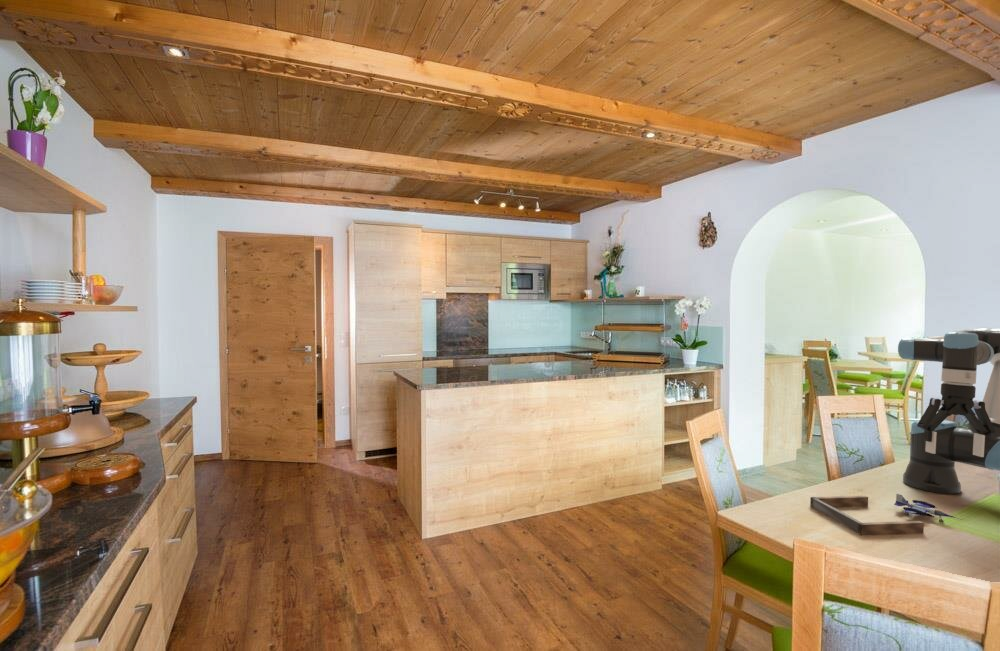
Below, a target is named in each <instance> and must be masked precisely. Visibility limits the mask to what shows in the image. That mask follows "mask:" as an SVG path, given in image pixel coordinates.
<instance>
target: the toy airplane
mask: <svg viewBox="0 0 1000 651" xmlns="http://www.w3.org/2000/svg"><path fill="white" fill-rule="evenodd" d="M895 498H896V499H895V502H894V504H893V505H894V506H896V507H897V506H898V507H902V509H903V510H904V511H903V512H904V515H907V516H909V514H910V515H912V514H913V515H918V516H923V517H926V516H927V517H931V518H934V517H935V516H938V518H939V519H938V522H939V523H941V522H942V523H944V521H945V520H944V519H943V518H942V517H947V518H955V519H959V520H960V518H958V517H956V516H952V515H950V514H948V513H946V512H945V511H944V510H942V509H936V508H938V507H937V506H936V505H935V504H934V503H933V504H932V503H929V502H927V501H924V500H917V499H913V500H912V504H911V503H910V502H909V500H906V498H905V497H904V496H903V495H902V494H900V493H896V496H895ZM913 503H914V504H913ZM906 506H907V507H906ZM962 520H963V521H964V519H962V518H961V521H962Z"/></svg>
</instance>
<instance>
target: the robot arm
mask: <svg viewBox="0 0 1000 651" xmlns="http://www.w3.org/2000/svg"><path fill="white" fill-rule="evenodd" d="M897 353H898V355H899V357H900V359H903V360H910V361H920V362H921V361H924V362H938V363H942V364H941V365H942V367H941V377H940V378H941V380H940V381H941V382H942V383H941V384H940V394H941V399H940V398H935V397H930V399H929V403H928V406H927V408H926V409H925V411H924V413H923V414H922V416H921V417H920V419H919V420H915V421H913V422H912V423H911V427H910V433H909V434H910V439H909V440H910V441H909V442H910V444H909V445H910V446H909V462H908V465H907V466H906V468H905V471H904V473H903V474H902V482H903V483H904V484H905V485H908V486H910V487H912V488H915V489H919V490H921V491H922V490H923V491H926V492H932V493H936V494H937V493H938V494H947V495H949V494H950V495H951V494H952V495H955V494H961V492H962V484H961V482H960V481H959V478H958V474H957V471H956V468H955V465H956V464H955V462H956V463H960V464H965V465H970V466H972V467H973V466H974V467H979V468H983V469H987V470H990V471H999V472H1000V328H999V327H996V328H994V327H993V328H992V327H991V328H990V327H979V328H970V329H964V330H958V331H952V332H947V333H944V335H938V336H937V335H936V336H929V337H928V336H927V337H902V338H901V339H900V340H899V342H898V344H897ZM989 362H990V364H991V365H992V367H993V368H992V370H991V373H990V376H989V380H988V383H987V387H986V389H985V393H984V396H983V399H982V401H980V400H974V399H975V398H976V391H977V390H976V386H975V384H977V368H978V366H980V365H984V364H987V363H989ZM952 415H954V416H963V417H964V418H965V419H966V420H967V421H968V425H967V427H965V428H964V427H959V426H958V425H957V423H956V422H955V421H951V420H946V419H947V418H948V417H950V416H952Z"/></svg>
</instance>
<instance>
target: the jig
mask: <svg viewBox="0 0 1000 651" xmlns="http://www.w3.org/2000/svg"><path fill="white" fill-rule="evenodd" d="M809 505H810V506H809V507H811V508H812V509H814V510H815V511H818V512H819V513H821V514H823V515H824V516H826V517H828V518H830V519H832V520H833V521H835V522H837V523H839V524H840V525H842V526H844V527H846V528H848V530H850V531H852V532H854V533H856V534H858V535H859V536H862V537H863V536H864V537H865V536H889V535H890V536H891V535H894V536H895V535H914V534H915V535H916V534H917V535H918V534H924V528H925V527H924V526H925V525H924V523H925V522H923V521H921V520H911V521H910V520H909V521H908V520H907V521H902V520H901V521H878V522H877V521H876V522H874V521H873V522H862V521H860V520H858V519H856V518H854V517H853V516H850V515H849V514H847V513H845V512H843V511H841V510H839V509H837V508H857V507H858V508H859V507H860V508H861V507H862V508H863V507H866V508H867V507H869V496H867V495H846V496H845V495H840V496H811V497H810V504H809Z"/></svg>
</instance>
